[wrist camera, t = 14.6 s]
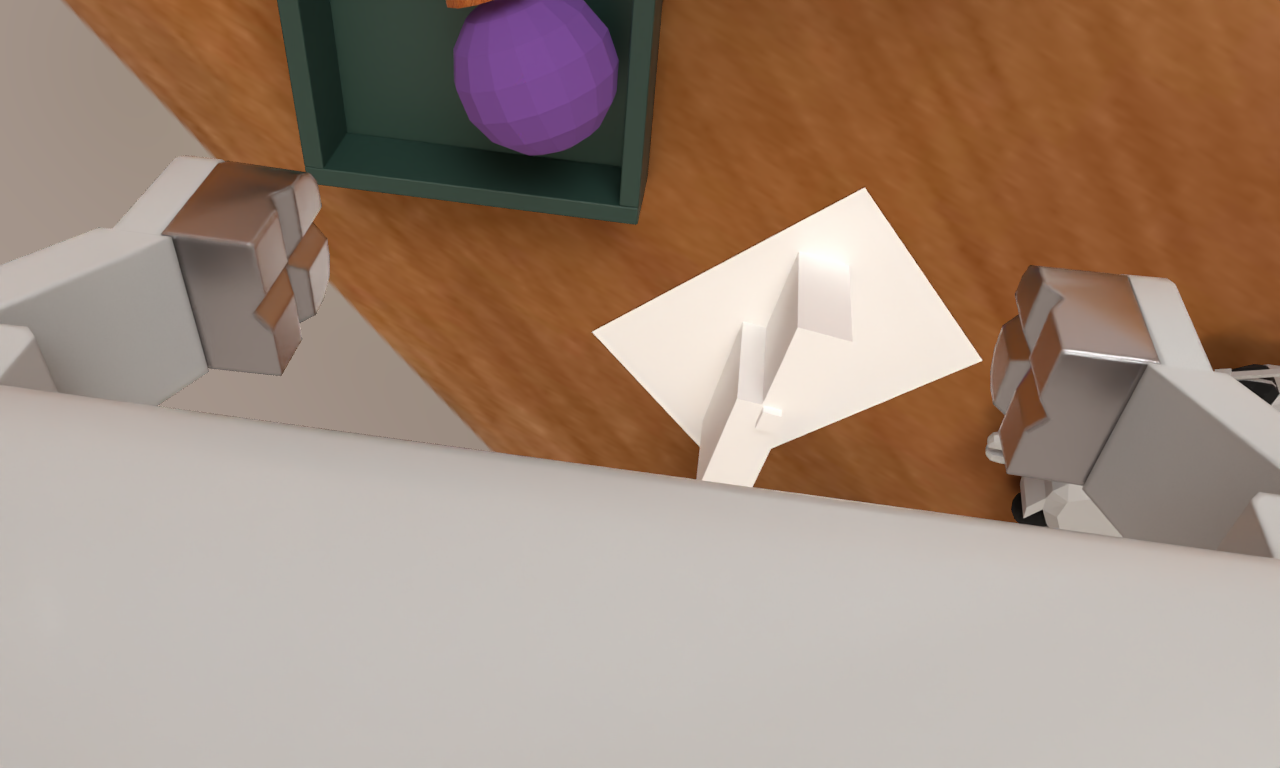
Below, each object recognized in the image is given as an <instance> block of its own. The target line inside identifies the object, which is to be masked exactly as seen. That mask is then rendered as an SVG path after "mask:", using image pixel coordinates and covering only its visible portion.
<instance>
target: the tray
mask: <svg viewBox="0 0 1280 768" xmlns="http://www.w3.org/2000/svg"><path fill="white" fill-rule="evenodd" d="M584 1H585V2H586V4H587V5H588V6H589V7H590V8H591V9H592V11H593V12H594V13H595V14H596V15H597V16H598V17H599V19H600V20H601V21H602V22H603V23H604V24H605V26H606V27H607V28H608V30H609V33H610V36H611V39H612V41H613V44H614V47H615V50H616V53H617V56H618V59H619V64H618V79H617V92H616V95H615V97H614V99H613V102H612V104H611V106H610V108H609V110H608V111H607V113H606V115H605V117H604V119H603V121H602V123H601V125H600V127H599V128H598V129H597V130H596V131H595V132H593V133H592V134H591V135H590V136H589V137H587V138H585V139H584V140H582V141H581V142H579V143H577V144H576V145H574V146H573V147H571V148H569V149H566V150H564V151H560V152H555V153H549V154H544V155H526V154H523V153H520V152H517V151H515V150H512V149H509V148H507V147H504V146H501V145H499V144H496V143H493V142H492V141H491V140H490V139H489V138H488V137H486V136H485V135H484V134H483V133H482V132H481V131H480V130H479V129H478V128H477V127H476V126H475V125H474V124H473V123H472V122H471V121H470V120H469V118H468V115H467V113H466V111H465V109H464V106H463V104H462V102H461V99H460V97H459V95H458V92H457V90H456V87H455V83H454V57H453V48H454V46H455V44H456V41H457V39H458V36H459V34H460V31H461V29H462V26H463V24H464V21H465V19H466V18H467V16H468V15H469V14H470V13H471V12H472V11H473V10H474V9H475V8H476V7H477V6H478V5H476V6H470V7H464V8H458V9H457V8H448V7H447V4H446V0H277V2H278V8H279V14H280V20H281V26H282V32H283V38H284V44H285V50H286V56H287V62H288V68H289V74H290V80H291V86H292V92H293V98H294V104H295V110H296V116H297V122H298V128H299V134H300V140H301V146H302V152H303V158H304V164H305V170H306V172H308V173H310V174H311V175H312V176H313V177H314V178H315V180H316V181H317V184H318V185H326V186H334V187H342V188H350V189H358V190H366V191H374V192H382V193H390V194H397V195H405V196H413V197H421V198H429V199H437V200H445V201H453V202H461V203H469V204H477V205H485V206H493V207H501V208H508V209H516V210H524V211H532V212H540V213H548V214H556V215H564V216H572V217H580V218H588V219H596V220H604V221H611V222H619V223H627V224H635V225H636V224H637V223H638V219H639V214H640V210H641V205H642V200H643V196H644V191H645V187H646V182H647V176H648V165H649V153H650V141H651V130H652V118H653V106H654V95H655V83H656V72H657V60H658V48H659V37H660V25H661V13H662V2H663V0H584Z"/></svg>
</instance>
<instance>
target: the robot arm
mask: <svg viewBox="0 0 1280 768" xmlns="http://www.w3.org/2000/svg"><path fill="white" fill-rule="evenodd" d="M321 207H322V204H321V199H320V194H319V189H318V184H317V181H316V180H315V178H314V177H313V176H312V175H311V174H310V173H308V172H301V171H294V170H287V169H280V168H274V167H267V166H260V165H253V164H246V163H240V162H233V161H223V160H221V159H212V158H204V157H194V156H181V157H176V158H174V159H173V160H172V162H171V163H170V164H169V165H168V166H167V167H166V168H165V169H164V171H163V172H162V173H161V174H160V175H159V176H158V177H157V179H156V180H155V181H154V182H153V183H152V184H151V185H150V186H149V188H148V189H147V190H146V191H145V192H144V193H143V194H142V196H141V197H140V198H139V199H138V200H137V201H136V202H135V203H134V205H133V206H132V207H131V208H130V209H129V210H128V211H127V213H126V214H125V215H124V216H123V217H122V218H121V219H120V220H119V222H118V223H117V224H116V225H115V226H114V227H113V228H112V229H108V228H100V227H99V228H96V229H93V230H91V231H88V232H85V233H83V234H80V235H78V236H75V237H72V238H70V239H67V240H64V241H62V242H59V243H57V244H54V245H51V246H49V247H46V248H43V249H41V250H38V251H36V252H33V253H30V254H28V255H25V256H22V257H20V258H17V259H15V260H12V261H9V262H7V263H4V264H1V265H0V768H1280V412H1279V411H1278V410H1276V409H1275V408H1274V407H1272V406H1271V405H1270V404H1268V403H1267V402H1266V401H1264V400H1263V399H1261V398H1260V397H1259V396H1257V395H1256V394H1255V393H1253V392H1252V391H1251V390H1249V389H1248V388H1247V387H1245V386H1244V385H1242V384H1241V383H1240V382H1238V381H1237V380H1236V379H1234V378H1233V377H1232V376H1230V375H1229V374H1227V373H1220V372H1214V371H1213V369H1212V367H1211V365H1210V362H1209V360H1208V358H1207V356H1206V353H1205V351H1204V349H1203V346H1202V344H1201V342H1200V340H1199V337H1198V335H1197V333H1196V331H1195V328H1194V326H1193V324H1192V321H1191V319H1190V317H1189V315H1188V312H1187V310H1186V308H1185V305H1184V303H1183V301H1182V299H1181V296H1180V294H1179V292H1178V290H1177V287H1176V285H1175V284H1174V283H1173V282H1172V281H1170V280H1169V279H1167V278H1158V277H1147V276H1136V275H1125V274H1121V275H1119V274H1110V273H1100V272H1091V271H1081V270H1072V269H1062V268H1053V267H1043V266H1034V265H1030V266H1029V267H1028V269H1027V270H1026V272H1025V273H1024V274H1023V276H1022V278H1021V281H1020V283H1019V285H1018V288H1017V290H1016V293H1015V298H1016V302H1017V307H1018V311H1019V315H1017V316H1016V317H1014V318H1013V319H1011V320H1010V321H1008V322H1007V323H1006V324H1004V325H1003V326H1002V329H1001V332H1000V334H999V337H998V340H997V343H996V346H995V348H994V354H993V360H992V366H991V371H990V375H991V394H992V400H993V404H994V405H995V406H996V407H997V408H998V409H999V410H1000V411H1001V412H1002V413H1003V414H1004V415H1005V417H1004V419H1003V422H1002V424H1001V426H1000V429H999V431H998V432H999V437H1000V442H1001V447H1002V452H1003V457H1004V462H1005V468H1006V473H1007V474H1011V475H1018V476H1024V477H1030V478H1036V479H1043V480H1049V481H1055V482H1061V483H1068V484H1074V485H1080V486H1083V488H1082V490H1083V491H1084V492H1085V493H1086V494H1087V496H1088V497H1089V498H1090V499H1091V500H1092V501H1093V503H1094V504H1095V505H1096V506H1097V507H1098V509H1099V510H1100V511H1101V512H1102V513H1103V514H1104V516H1105V517H1106V518H1107V519H1108V520H1109V521H1110V523H1111V524H1112V525H1113V526H1114V527H1115V529H1116V530H1117V531H1118V532H1119V533H1120V534H1121V536H1122V537H1123V538H1122V537H1114V536H1107V535H1100V534H1093V533H1085V532H1078V531H1071V530H1063V529H1056V528H1049V527H1041V526H1034V525H1027V524H1019V523H1012V522H1004V521H997V520H990V519H982V518H975V517H968V516H960V515H953V514H946V513H938V512H931V511H924V510H916V509H909V508H902V507H894V506H887V505H880V504H872V503H865V502H858V501H850V500H843V499H835V498H828V497H821V496H813V495H806V494H799V493H791V492H784V491H777V490H769V489H762V488H755V487H747V486H740V485H733V484H725V483H718V482H711V481H703V480H696V479H689V478H681V477H674V476H667V475H659V474H652V473H645V472H637V471H630V470H623V469H615V468H608V467H601V466H593V465H586V464H579V463H571V462H564V461H557V460H549V459H542V458H535V457H527V456H520V455H513V454H505V453H498V452H491V451H483V450H476V449H469V448H461V447H454V446H447V445H439V444H432V443H425V442H417V441H409V440H402V439H395V438H388V437H381V436H373V435H366V434H359V433H351V432H344V431H337V430H329V429H322V428H315V427H307V426H299V425H293V424H285V423H278V422H271V421H263V420H256V419H248V418H241V417H234V416H227V415H219V414H212V413H204V412H198V411H190V410H182V409H176V408H168V407H161V406H158V405H160V404H161V403H163V402H164V401H165V400H167V399H169V398H170V397H172V396H173V395H175V394H176V393H178V392H179V391H181V390H182V389H184V388H185V387H187V386H188V385H190V384H191V383H193V382H194V381H196V380H197V379H199V378H200V377H202V376H203V375H205V374H206V373H208V372H209V370H208V368H211V369H220V370H229V371H238V372H247V373H257V374H266V375H276V376H281V375H282V374H283V372H284V370H285V368H286V367H287V365H288V363H289V361H290V360H291V358H292V356H293V354H294V353H295V351H296V349H297V347H298V346H299V344H300V342H301V340H302V336H301V330H300V324H299V323H301V322H303V321H305V320H307V319H309V318H310V317H312V316H314V315H316V313H317V311H318V310H319V308H320V306H321V304H322V302H323V300H324V297H325V293H326V288H327V284H328V280H329V274H330V255H329V248H328V241H327V238H326V237H325V236H324V234H323V233H322V232H321V231H320V230H319V229H318V228H317V226H316V225H315V224H314V223H313V220H314V218H315V217H316V215H317V213H318V212H319V210H320V209H321Z"/></svg>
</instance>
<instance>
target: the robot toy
mask: <svg viewBox="0 0 1280 768" xmlns="http://www.w3.org/2000/svg"><path fill="white" fill-rule="evenodd" d="M1215 372H1220V373H1227V374H1229V375H1230V376H1232V377H1233V378H1234V379H1236V380H1237V381H1238V382H1240V383H1241V384H1242V385H1244V386H1245V387H1247V388H1248V389H1249V390H1251V391H1252V392H1253V393H1255V394H1256V395H1257V396H1259V397H1260V398H1261V399H1263V400H1264V401H1266V402H1267V403H1268V404H1270V405H1271V406H1272V407H1274V408H1275V409H1276V410H1278V411H1279V412H1280V366H1276V365H1270V364H1266V365H1257V364H1253V365H1248V366H1244V367H1240V368H1236V369H1232V370H1231V368H1229V369H1215ZM986 456H987V457H988V458H989V459H990V461H994V462H998V463H1002V464H1005V462H1004V457H1003V452H1002V447H1001V442H1000V437H999V432H993V433H992V434H991V435H990V436H989V437H988V439H987V445H986ZM1082 488H1083V486H1080V485H1074V484H1068V483H1061V482H1055V481H1049V480H1043V479H1036V478H1030V477H1024V476H1022V478H1021V481H1020V489H1021V492H1020V493H1018V494H1017V495H1016V496H1015V498H1014V499H1013V502H1012V508H1011V510H1012V513H1013V516H1014V519H1015V520H1016V521H1017V522H1018V523H1019V524H1027V525H1034V526H1041V527H1049V528H1056V529H1063V530H1071V531H1078V532H1085V533H1093V534H1100V535H1107V536H1114V537H1122V536H1121V534H1120V533H1119V532H1118V531H1117V530H1116V529H1115V527H1114V526H1113V525H1112V524H1111V523H1110V521H1109V520H1108V519H1107V518H1106V517H1105V516H1104V514H1103V513H1102V512H1101V511H1100V510H1099V509H1098V507H1097V506H1096V505H1095V504H1094V503H1093V501H1092V500H1091V499H1090V498H1089V497H1088V496H1087V494H1086V493H1085V492H1084V491H1083V490H1082ZM1122 538H1123V537H1122Z"/></svg>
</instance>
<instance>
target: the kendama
mask: <svg viewBox="0 0 1280 768" xmlns="http://www.w3.org/2000/svg"><path fill="white" fill-rule="evenodd" d="M446 4H447V7H448V8H457V9H458V8H464V7H470V6H476V5H478V6H477V7H476V8H475V9H474V10H473V11H472V12H471V13H470V14H469V15H468V16H467V18H466V19H465V21H464V24H463V26H462V29H461V31H460V34H459V36H458V39H457V41H456V44H455V46H454V48H453V57H454V83H455V87H456V90H457V92H458V95H459V97H460V99H461V102H462V104H463V106H464V109H465V111H466V113H467V115H468V118H469V120H470V121H471V122H472V123H473V124H474V125H475V126H476V127H477V128H478V129H479V130H480V131H481V132H482V133H483V134H484V135H485V136H486V137H488V138H489V139H490V140H491V141H492V142H493V143H496V144H499V145H501V146H504V147H507V148H509V149H512V150H515V151H517V152H520V153H523V154H526V155H544V154H549V153H555V152H560V151H564V150H566V149H569V148H571V147H573V146H574V145H576V144H577V143H579V142H581V141H582V140H584V139H585V138H587V137H589V136H590V135H591V134H592V133H593V132H595V131H596V130H597V129H598V128H599V127H600V125H601V123H602V121H603V119H604V117H605V115H606V113H607V111H608V110H609V108H610V106H611V104H612V102H613V99H614V97H615V95H616V92H617V79H618V64H619V59H618V56H617V53H616V50H615V47H614V44H613V41H612V39H611V36H610V33H609V30H608V28H607V27H606V26H605V24H604V23H603V22H602V21H601V20H600V19H599V17H598V16H597V15H596V14H595V13H594V12H593V11H592V9H591V8H590V7H589V6H588V5H587V4H586V2H585V1H584V0H446Z"/></svg>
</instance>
